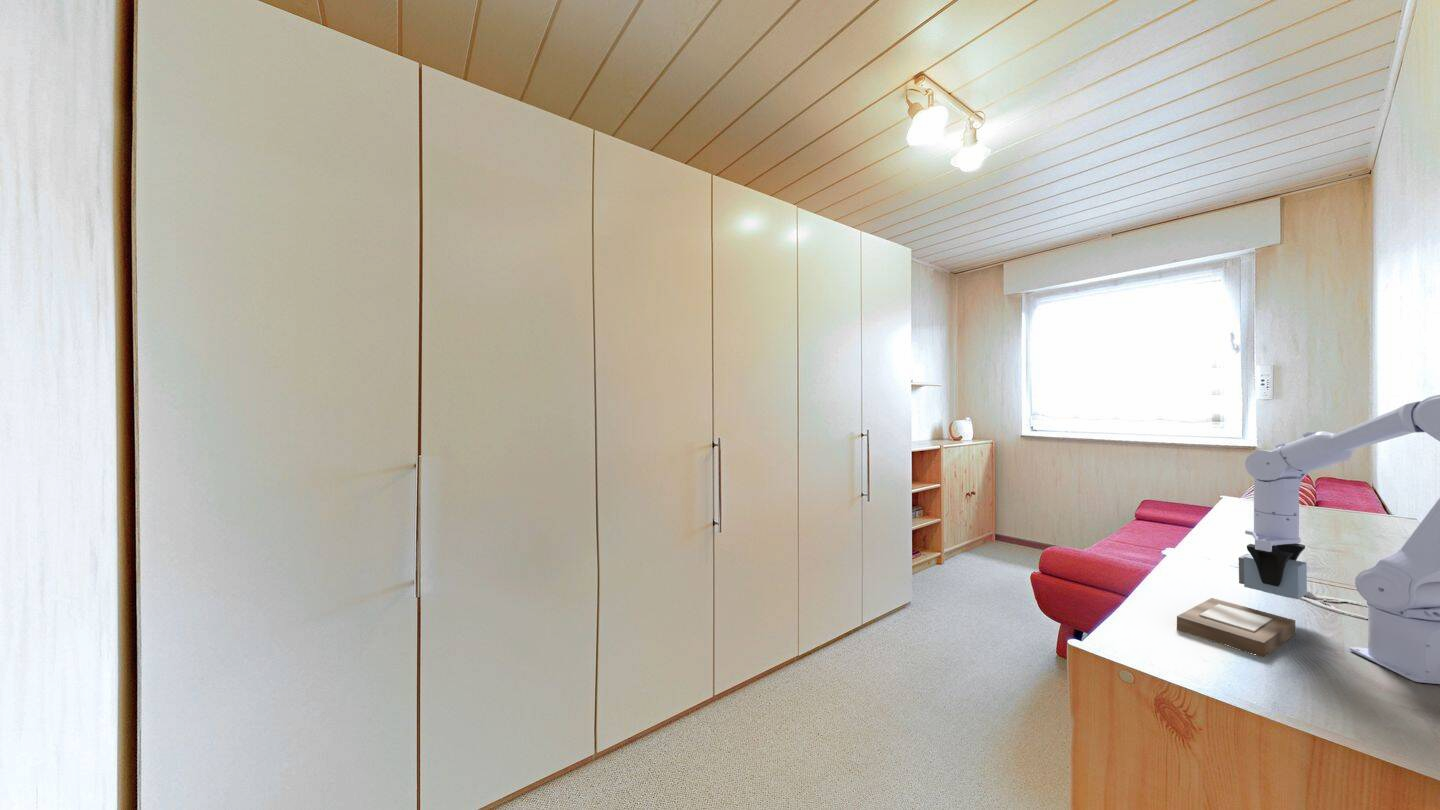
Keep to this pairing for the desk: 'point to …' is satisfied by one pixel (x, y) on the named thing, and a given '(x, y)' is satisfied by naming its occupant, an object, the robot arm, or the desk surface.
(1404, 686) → the desk surface
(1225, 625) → the stand
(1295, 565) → the block
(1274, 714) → the desk surface
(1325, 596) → the pliers
